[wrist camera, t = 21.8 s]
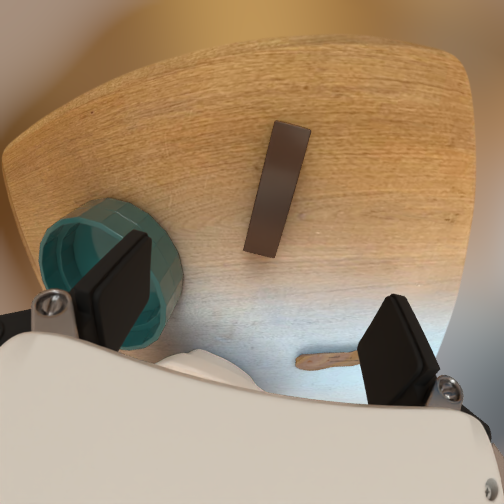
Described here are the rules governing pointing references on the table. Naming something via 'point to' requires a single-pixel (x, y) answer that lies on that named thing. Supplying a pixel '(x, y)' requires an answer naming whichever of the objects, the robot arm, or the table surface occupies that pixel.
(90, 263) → the mixing bowl
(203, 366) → the bowl
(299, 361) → the stone tool
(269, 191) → the brown wooden block
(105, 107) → the table surface
